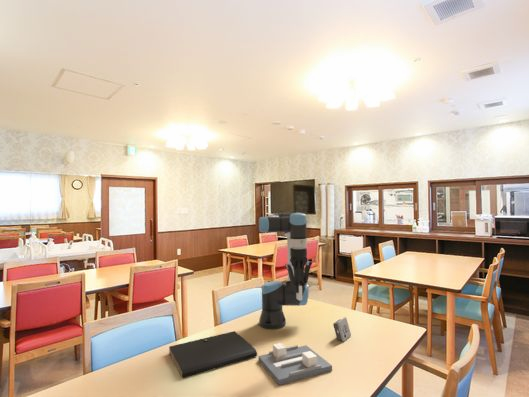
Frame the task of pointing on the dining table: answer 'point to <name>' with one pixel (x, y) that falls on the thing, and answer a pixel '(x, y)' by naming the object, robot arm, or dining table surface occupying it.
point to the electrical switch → (342, 329)
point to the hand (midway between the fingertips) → (299, 299)
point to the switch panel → (292, 365)
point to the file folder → (210, 353)
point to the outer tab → (309, 359)
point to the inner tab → (279, 350)
